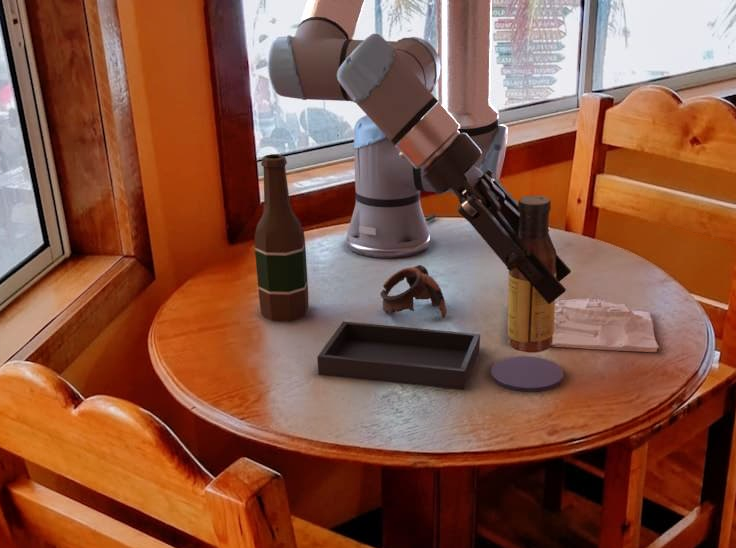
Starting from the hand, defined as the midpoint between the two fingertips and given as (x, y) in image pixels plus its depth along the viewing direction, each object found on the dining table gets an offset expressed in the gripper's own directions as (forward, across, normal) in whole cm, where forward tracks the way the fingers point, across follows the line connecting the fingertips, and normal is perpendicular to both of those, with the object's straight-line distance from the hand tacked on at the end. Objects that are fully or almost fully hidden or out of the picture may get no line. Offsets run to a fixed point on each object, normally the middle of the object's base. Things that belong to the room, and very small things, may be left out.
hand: (560, 287), depth 128 cm
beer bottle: (-21, -14, -40) cm, 48 cm away
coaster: (+7, 0, -12) cm, 14 cm away
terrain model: (+11, -18, -8) cm, 22 cm away
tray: (-6, 0, -25) cm, 25 cm away
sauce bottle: (+4, 0, -9) cm, 10 cm away
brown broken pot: (-7, -18, -26) cm, 33 cm away
